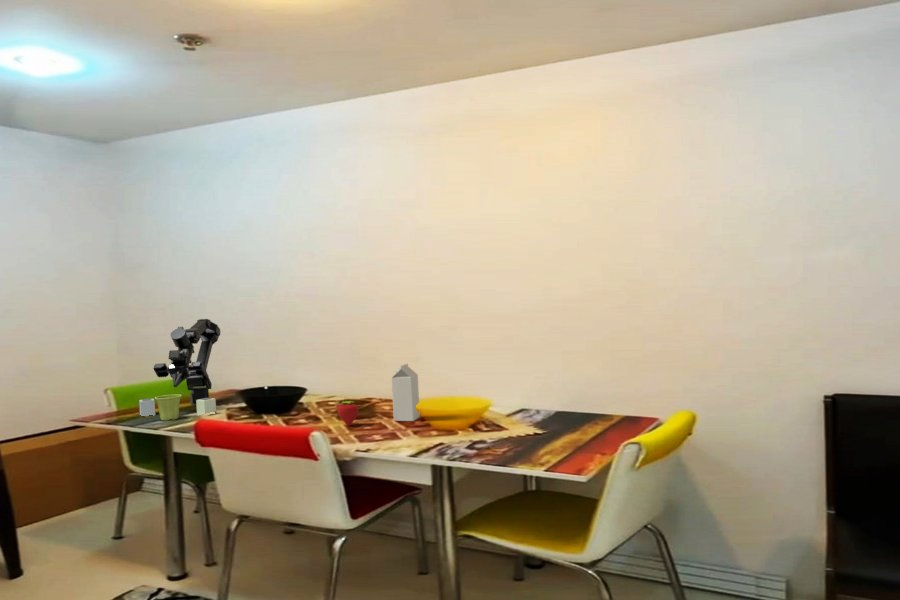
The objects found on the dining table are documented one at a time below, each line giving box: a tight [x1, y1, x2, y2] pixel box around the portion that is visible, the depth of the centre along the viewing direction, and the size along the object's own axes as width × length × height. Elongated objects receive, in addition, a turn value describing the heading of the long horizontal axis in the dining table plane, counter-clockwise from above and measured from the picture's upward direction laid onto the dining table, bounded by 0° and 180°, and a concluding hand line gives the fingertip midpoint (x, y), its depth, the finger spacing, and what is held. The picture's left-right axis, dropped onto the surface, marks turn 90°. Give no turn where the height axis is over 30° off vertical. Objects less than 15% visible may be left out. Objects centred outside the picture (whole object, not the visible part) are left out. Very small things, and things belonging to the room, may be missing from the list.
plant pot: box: [154, 393, 182, 421], centre depth 256 cm, size 9×9×9 cm
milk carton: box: [391, 363, 421, 422], centre depth 234 cm, size 7×7×19 cm
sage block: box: [195, 397, 217, 417], centre depth 262 cm, size 5×5×6 cm
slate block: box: [138, 398, 156, 417], centre depth 267 cm, size 5×5×6 cm
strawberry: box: [337, 396, 359, 427], centre depth 228 cm, size 6×8×10 cm
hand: (174, 386), depth 263 cm, fingers closed
